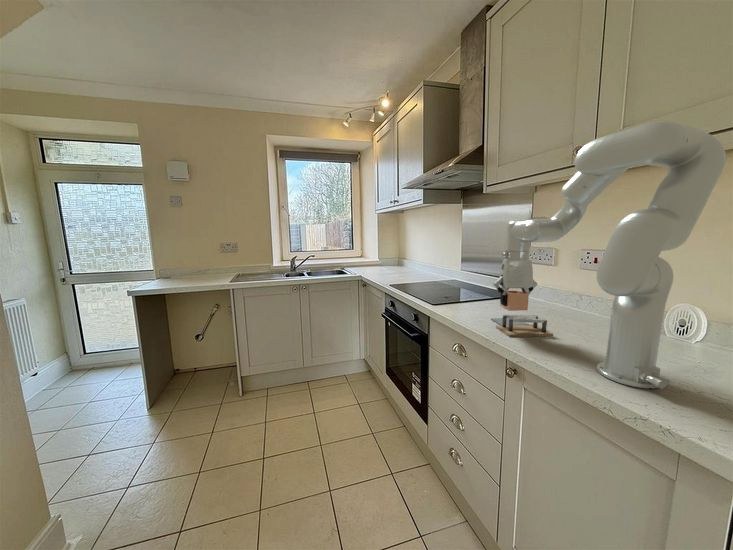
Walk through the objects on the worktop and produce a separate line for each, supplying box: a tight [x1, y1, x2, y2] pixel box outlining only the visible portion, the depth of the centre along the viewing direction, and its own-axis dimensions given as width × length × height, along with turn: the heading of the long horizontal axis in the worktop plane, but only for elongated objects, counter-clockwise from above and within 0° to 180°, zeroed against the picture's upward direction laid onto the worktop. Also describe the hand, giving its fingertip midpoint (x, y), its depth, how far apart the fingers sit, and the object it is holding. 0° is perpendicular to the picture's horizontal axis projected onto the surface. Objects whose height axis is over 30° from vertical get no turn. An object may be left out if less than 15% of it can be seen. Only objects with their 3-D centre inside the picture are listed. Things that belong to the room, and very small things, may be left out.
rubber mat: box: [490, 317, 530, 326], centre depth 119 cm, size 9×11×1 cm
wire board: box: [495, 324, 554, 338], centre depth 108 cm, size 10×16×1 cm, turn 93°
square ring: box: [499, 289, 530, 312], centre depth 105 cm, size 7×7×6 cm
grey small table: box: [502, 314, 548, 333], centre depth 108 cm, size 8×12×5 cm
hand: (513, 304), depth 106 cm, fingers closed on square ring, 6 cm apart
